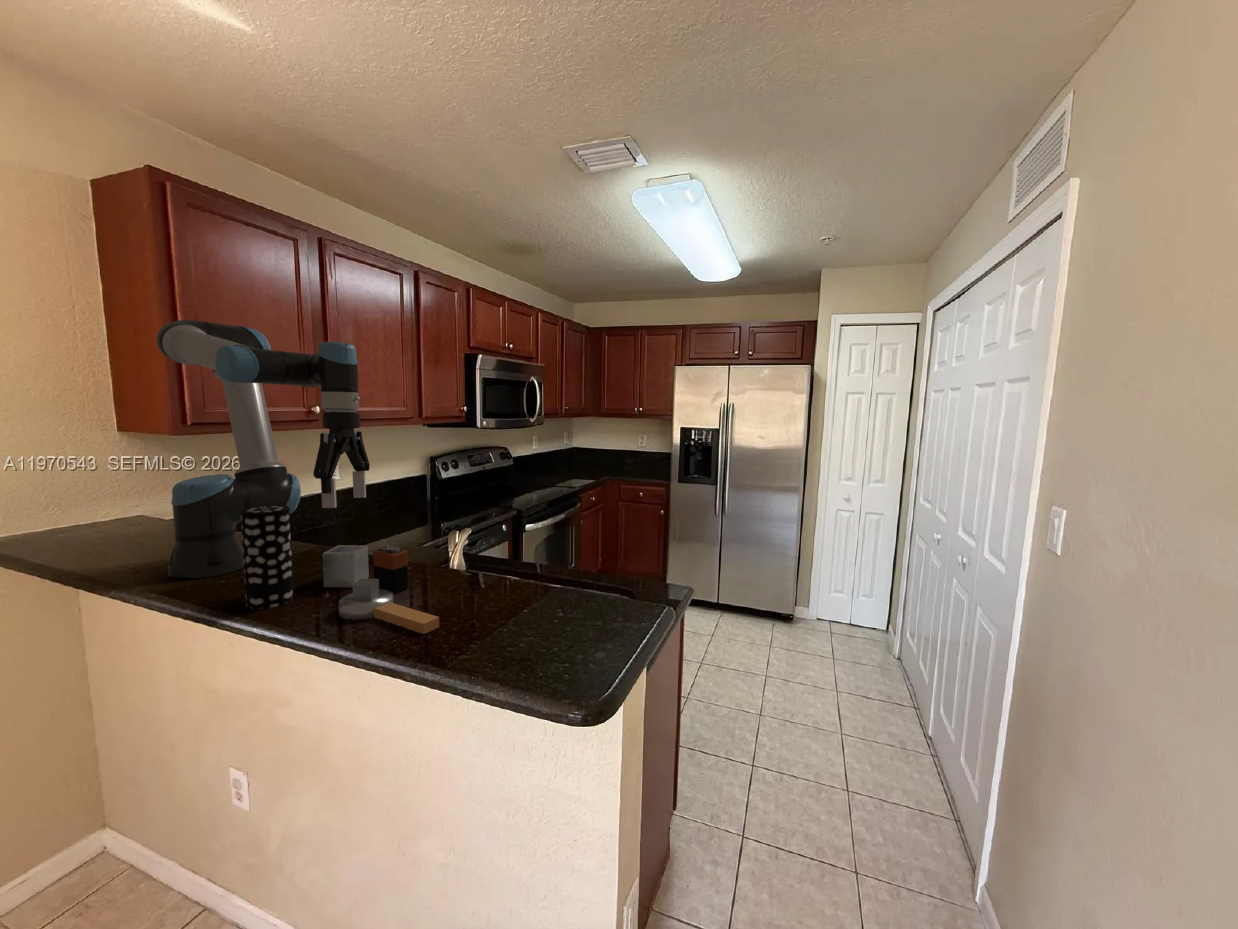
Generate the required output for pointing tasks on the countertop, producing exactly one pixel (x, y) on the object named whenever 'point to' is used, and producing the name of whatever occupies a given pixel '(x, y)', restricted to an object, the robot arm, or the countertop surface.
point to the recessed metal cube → (345, 565)
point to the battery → (391, 568)
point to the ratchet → (383, 608)
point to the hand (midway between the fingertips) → (345, 502)
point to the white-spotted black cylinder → (267, 556)
